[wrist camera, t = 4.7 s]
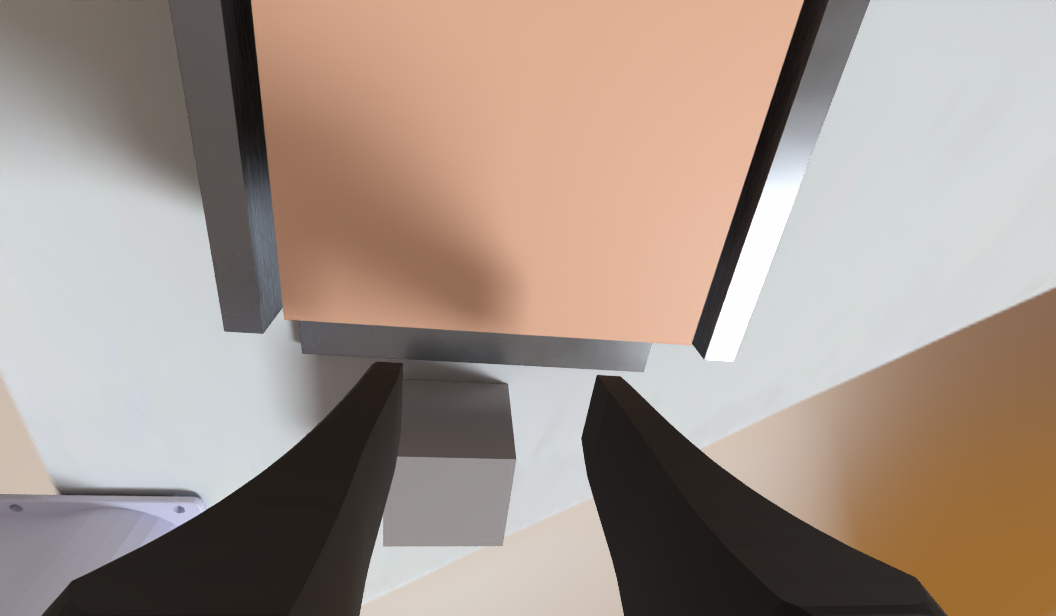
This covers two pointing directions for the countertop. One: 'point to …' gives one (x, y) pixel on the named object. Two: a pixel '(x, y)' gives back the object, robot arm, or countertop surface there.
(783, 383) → the countertop surface
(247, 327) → the trapdoor frame
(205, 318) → the countertop surface
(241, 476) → the countertop surface
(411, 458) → the grey cube
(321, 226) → the trapdoor
